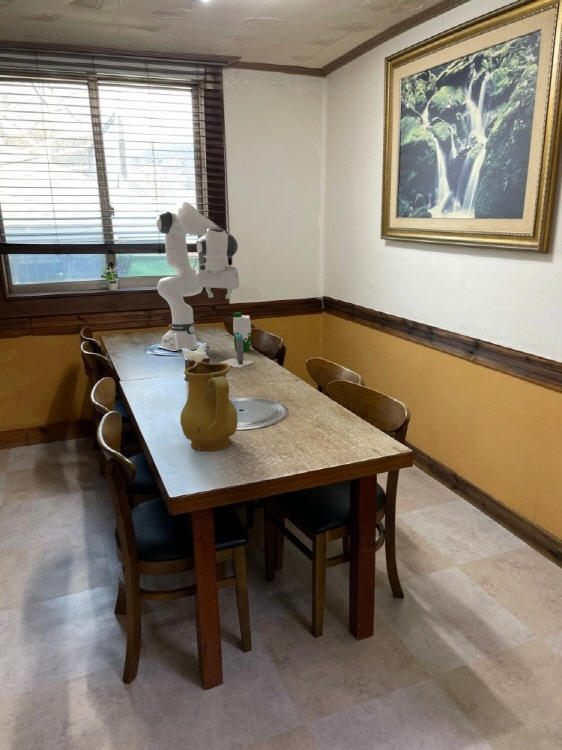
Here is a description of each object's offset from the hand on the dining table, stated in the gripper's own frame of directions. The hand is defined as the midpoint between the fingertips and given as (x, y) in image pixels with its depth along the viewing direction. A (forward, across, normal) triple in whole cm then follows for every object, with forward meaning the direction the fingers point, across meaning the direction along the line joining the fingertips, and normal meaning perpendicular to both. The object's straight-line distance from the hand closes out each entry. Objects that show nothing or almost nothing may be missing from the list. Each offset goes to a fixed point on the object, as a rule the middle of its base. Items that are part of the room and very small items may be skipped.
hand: (219, 298), depth 235 cm
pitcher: (+33, -48, +71) cm, 92 cm away
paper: (+33, +2, -13) cm, 36 cm away
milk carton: (+33, +15, -38) cm, 53 cm away
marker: (+33, -1, -13) cm, 35 cm away
